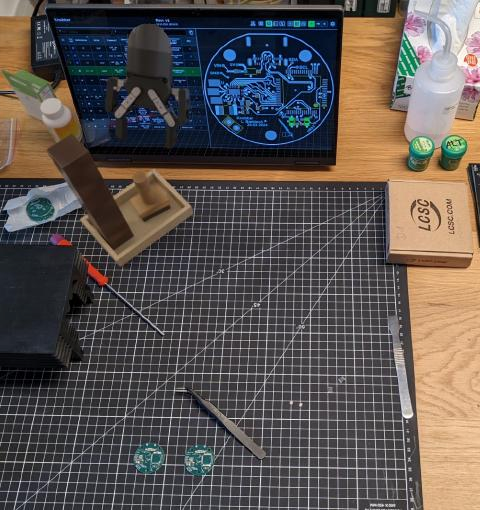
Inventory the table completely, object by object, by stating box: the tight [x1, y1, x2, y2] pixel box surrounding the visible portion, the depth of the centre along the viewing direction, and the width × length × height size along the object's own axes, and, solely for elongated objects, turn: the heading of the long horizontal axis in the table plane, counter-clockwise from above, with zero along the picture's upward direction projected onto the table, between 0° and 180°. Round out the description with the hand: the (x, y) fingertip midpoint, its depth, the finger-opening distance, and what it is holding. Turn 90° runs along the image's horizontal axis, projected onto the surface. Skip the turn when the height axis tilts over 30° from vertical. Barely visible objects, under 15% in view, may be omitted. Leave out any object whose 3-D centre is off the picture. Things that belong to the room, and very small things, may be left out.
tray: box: [79, 168, 194, 267], centre depth 116 cm, size 17×12×4 cm
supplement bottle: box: [40, 97, 83, 144], centre depth 121 cm, size 5×5×10 cm
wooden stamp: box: [130, 171, 171, 222], centre depth 113 cm, size 6×4×10 cm, turn 124°
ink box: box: [0, 68, 58, 122], centre depth 122 cm, size 7×4×13 cm, turn 62°
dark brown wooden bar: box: [45, 134, 134, 250], centre depth 103 cm, size 4×4×26 cm
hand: (146, 143), depth 109 cm, fingers open, 8 cm apart
